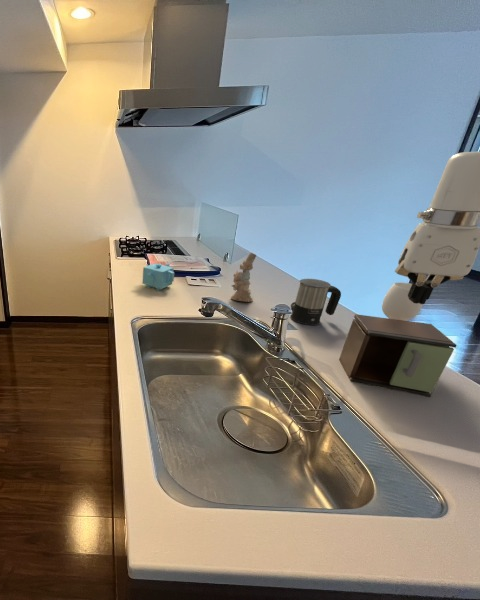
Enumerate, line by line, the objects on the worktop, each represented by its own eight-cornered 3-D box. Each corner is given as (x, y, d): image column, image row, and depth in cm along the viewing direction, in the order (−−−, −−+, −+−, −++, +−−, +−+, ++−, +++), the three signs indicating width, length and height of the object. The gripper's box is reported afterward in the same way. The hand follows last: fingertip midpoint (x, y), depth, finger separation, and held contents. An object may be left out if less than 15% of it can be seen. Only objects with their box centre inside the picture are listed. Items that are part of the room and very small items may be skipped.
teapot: (133, 287, 153) (134, 264, 149) (155, 278, 164) (157, 257, 160) (161, 295, 143) (163, 271, 138) (182, 285, 154) (185, 263, 149)
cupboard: (409, 371, 88) (431, 323, 83) (430, 397, 79) (457, 345, 73) (338, 359, 95) (354, 314, 89) (350, 381, 85) (369, 332, 79)
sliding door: (430, 390, 79) (452, 347, 74) (438, 400, 76) (461, 355, 71) (389, 383, 82) (407, 340, 77) (395, 391, 79) (415, 348, 74)
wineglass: (405, 359, 94) (435, 293, 85) (367, 351, 98) (392, 288, 90) (398, 346, 100) (425, 284, 92) (363, 339, 105) (386, 279, 97)
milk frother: (304, 326, 113) (315, 288, 108) (271, 308, 128) (279, 273, 122) (337, 322, 116) (349, 284, 110) (301, 305, 130) (310, 270, 124)
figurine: (248, 296, 140) (257, 251, 132) (254, 303, 133) (264, 257, 125) (227, 295, 142) (234, 251, 134) (232, 302, 134) (240, 256, 126)
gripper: (411, 219, 64) (380, 303, 71) (518, 223, 58) (472, 313, 65) (396, 214, 70) (368, 291, 77) (491, 217, 65) (451, 300, 72)
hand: (416, 301), depth 71 cm, fingers closed
